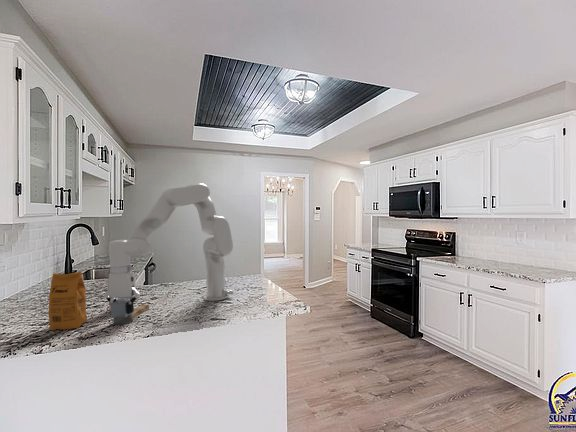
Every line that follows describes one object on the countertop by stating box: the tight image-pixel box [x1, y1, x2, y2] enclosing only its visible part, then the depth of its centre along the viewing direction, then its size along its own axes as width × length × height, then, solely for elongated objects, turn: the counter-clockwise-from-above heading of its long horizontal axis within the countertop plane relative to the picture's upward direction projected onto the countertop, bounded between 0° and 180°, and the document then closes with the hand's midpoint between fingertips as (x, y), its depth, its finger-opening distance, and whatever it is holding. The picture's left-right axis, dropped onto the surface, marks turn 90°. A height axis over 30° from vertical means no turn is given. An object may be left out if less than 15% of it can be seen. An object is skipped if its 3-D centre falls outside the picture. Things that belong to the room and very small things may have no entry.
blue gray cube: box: [110, 299, 134, 319], centre depth 130 cm, size 6×6×6 cm
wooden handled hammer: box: [113, 304, 150, 326], centre depth 137 cm, size 20×7×7 cm, turn 175°
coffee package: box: [48, 271, 88, 331], centre depth 128 cm, size 10×12×22 cm
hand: (122, 312), depth 131 cm, fingers closed on blue gray cube, 6 cm apart
